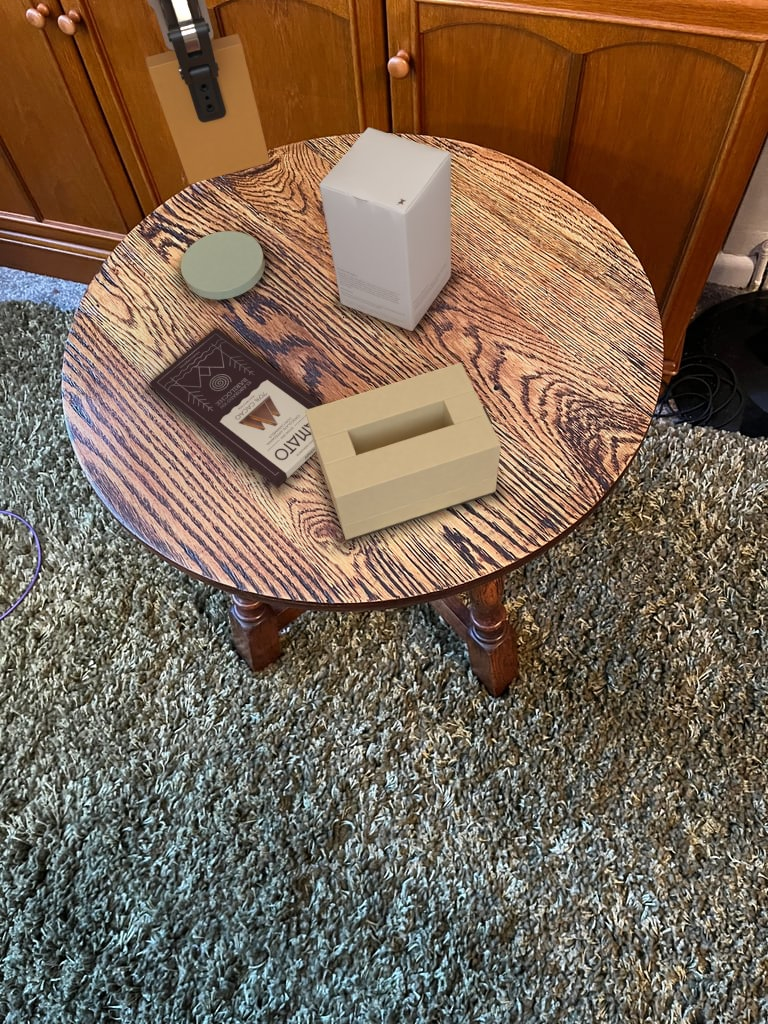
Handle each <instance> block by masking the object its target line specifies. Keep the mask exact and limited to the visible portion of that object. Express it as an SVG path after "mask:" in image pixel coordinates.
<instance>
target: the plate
mask: <svg viewBox="0 0 768 1024" xmlns="http://www.w3.org/2000/svg"><path fill="white" fill-rule="evenodd" d="M264 255H265V254H264V252H263V249H262V247H261V245H260V243H259V242H258V241H257V239H255V238H254V237H252V236H250V235H249V234H247V233H244V232H241V231H235V230H225V231H217V232H213V233H209V234H207V235H204V236H202V237H201V238H199V239H197V240H196V241H194V242H193V243H192V244H191V245H190V246H189V247H188V248H187V249H186V251H185V252H184V254H183V256H182V258H181V261H180V271H181V275H182V277H183V280H184V282H185V284H186V286H187V288H188V289H189V290H190V291H191V292H192V293H194V294H195V295H197V296H199V297H202V298H205V299H209V300H226V299H227V300H228V299H232V298H235V297H239V296H241V295H243V294H245V293H246V292H249V291H250V290H251V289H253V288H254V287H255V286H256V285H257V284H258V283H259V282H260V280H261V278H262V277H263V275H264V272H265V269H266V260H265V256H264Z"/></svg>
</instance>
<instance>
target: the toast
mask: <svg viewBox="0 0 768 1024" xmlns="http://www.w3.org/2000/svg"><path fill="white" fill-rule="evenodd" d="M211 45H212V49H213V53H214V57H215V60H216V63H217V64H218V67H219V71H218V75H219V77H217V81H218V84H219V88H220V92H221V95H222V99H223V102H224V106H225V110H226V114H225V116H224V117H223V118H220V119H216V120H213V121H209V122H201V121H200V120H199V119H198V117H197V113H196V110H195V107H194V104H193V101H192V97H191V94H190V91H189V88H188V85H186V84H185V81H184V80H182V78H181V75H180V71H179V68H178V66H180V65H179V62H178V59H177V56H176V53H175V51H174V50H169V51H166V52H160V53H157V54H154V55H149V56H146V57H144V59H145V62H146V66H147V70H148V72H149V73H148V74H149V75H150V79H151V81H152V84H153V86H154V89H155V92H156V96H157V98H158V101H159V104H160V107H161V109H162V112H163V115H164V118H165V120H166V124H167V127H168V128H169V129H168V130H169V132H170V135H171V137H172V141H173V144H174V146H175V149H176V151H177V155H178V157H179V160H180V162H181V163H180V164H181V165H182V168H183V171H184V174H185V177H186V180H187V183H188V185H192V184H193V185H194V184H196V183H200V182H203V181H207V180H211V179H214V178H215V179H216V178H218V177H222V176H226V175H229V174H233V173H237V172H240V171H244V170H247V169H251V168H255V167H259V166H262V165H267V164H270V162H271V161H270V156H269V152H268V148H267V144H266V139H265V136H264V130H263V127H262V123H261V118H260V114H259V109H258V105H257V101H256V97H255V94H254V93H255V92H254V89H253V85H252V81H251V75H250V72H249V69H248V64H247V60H246V56H245V51H244V47H243V43H242V41H241V38H240V35H239V34H238V33H234V34H231V35H227V36H224V37H220V38H219V37H218V38H216V39H212V40H211Z"/></svg>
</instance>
